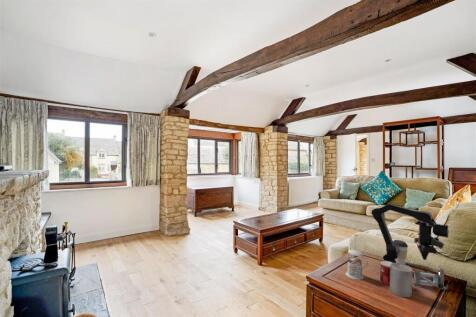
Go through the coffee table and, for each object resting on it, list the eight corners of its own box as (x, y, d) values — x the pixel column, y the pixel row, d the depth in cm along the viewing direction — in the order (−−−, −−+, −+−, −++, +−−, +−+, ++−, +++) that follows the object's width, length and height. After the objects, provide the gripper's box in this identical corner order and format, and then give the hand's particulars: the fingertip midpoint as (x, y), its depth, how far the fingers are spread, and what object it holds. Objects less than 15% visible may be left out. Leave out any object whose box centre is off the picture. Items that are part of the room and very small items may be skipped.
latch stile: (414, 286, 130) (415, 271, 130) (412, 283, 133) (412, 268, 133) (422, 287, 129) (422, 272, 129) (419, 284, 132) (420, 269, 132)
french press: (344, 270, 147) (346, 230, 147) (365, 273, 143) (366, 233, 143) (346, 277, 137) (347, 235, 137) (368, 281, 133) (369, 238, 133)
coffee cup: (402, 260, 164) (402, 239, 164) (410, 266, 155) (411, 243, 155) (388, 259, 165) (389, 238, 165) (396, 265, 156) (396, 242, 156)
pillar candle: (390, 285, 130) (391, 258, 130) (412, 291, 124) (413, 264, 124) (388, 292, 123) (389, 264, 123) (411, 300, 117) (412, 270, 117)
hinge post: (438, 288, 128) (438, 269, 128) (434, 285, 132) (435, 266, 132) (447, 290, 127) (447, 270, 127) (442, 286, 131) (443, 267, 131)
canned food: (381, 277, 138) (382, 259, 138) (397, 283, 133) (398, 264, 133) (378, 282, 133) (378, 263, 133) (394, 288, 127) (395, 268, 127)
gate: (436, 284, 130) (436, 274, 130) (437, 285, 129) (437, 275, 129) (414, 281, 133) (414, 271, 133) (415, 282, 132) (415, 272, 132)
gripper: (449, 240, 126) (448, 269, 126) (436, 231, 143) (435, 256, 143) (423, 237, 130) (423, 265, 130) (414, 228, 147) (413, 253, 147)
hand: (424, 259), depth 137 cm, fingers closed
